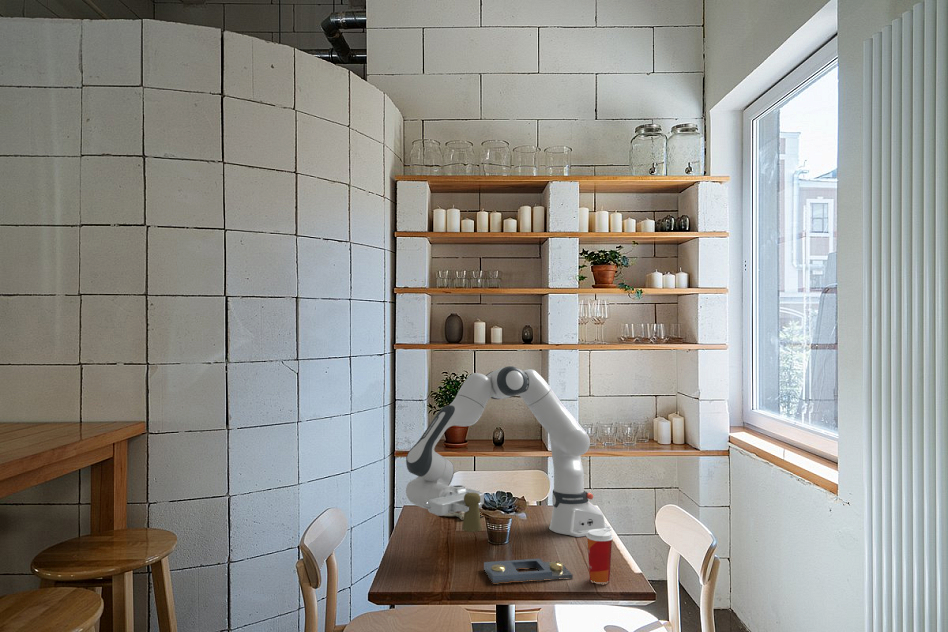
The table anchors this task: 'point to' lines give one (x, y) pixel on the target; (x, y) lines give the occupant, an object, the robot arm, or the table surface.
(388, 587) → the table surface
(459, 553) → the table surface
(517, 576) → the slotted plate with knobs
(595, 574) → the paper cup
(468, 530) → the olive green pepper mill
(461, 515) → the decorative turtle
